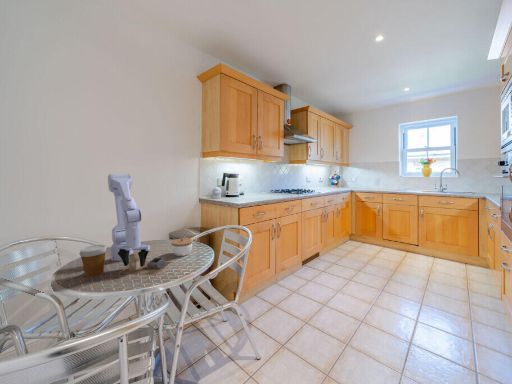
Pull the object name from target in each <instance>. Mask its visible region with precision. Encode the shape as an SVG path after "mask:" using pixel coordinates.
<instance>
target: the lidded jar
mask: <svg viewBox="0 0 512 384" xmlns="http://www.w3.org/2000/svg"><path fill="white" fill-rule="evenodd" d="M171 249H172V252H173V254H174V255H175V256H177V257H184V256H187V255H189V254H190V253H191V252H192V249H193V239H191V238H185V237H181V238H178V239H177V238H176V239H175V240H172V241H171Z"/></svg>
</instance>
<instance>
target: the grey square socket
mask: <svg viewBox="0 0 512 384" xmlns="http://www.w3.org/2000/svg"><path fill="white" fill-rule="evenodd" d="M148 261H149V262H148V263H147V266H146V267H145V269H160V268H162V267H163V266H164V265H165V264H166V263H167V262H168V261H165V257H154V258H153V259H151V260H148Z"/></svg>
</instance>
